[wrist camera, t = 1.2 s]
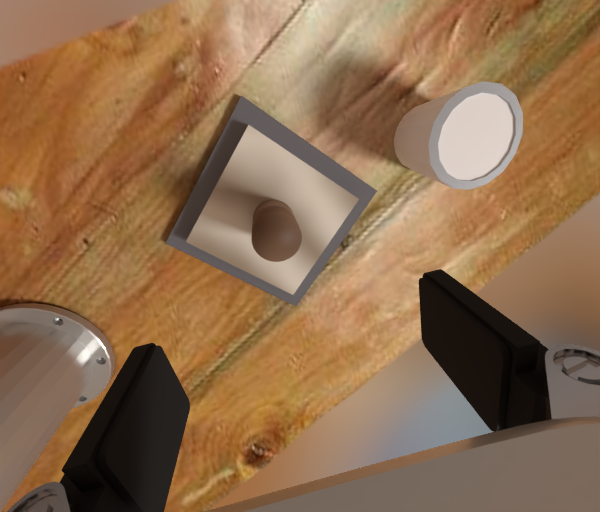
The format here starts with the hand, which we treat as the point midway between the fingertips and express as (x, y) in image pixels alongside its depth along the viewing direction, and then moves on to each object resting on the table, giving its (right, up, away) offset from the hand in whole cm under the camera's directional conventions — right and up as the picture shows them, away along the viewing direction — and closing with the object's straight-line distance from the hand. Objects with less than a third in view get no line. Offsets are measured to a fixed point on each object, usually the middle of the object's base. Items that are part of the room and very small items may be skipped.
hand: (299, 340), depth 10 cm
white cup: (+11, +14, +16) cm, 24 cm away
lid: (-2, +7, +16) cm, 18 cm away
